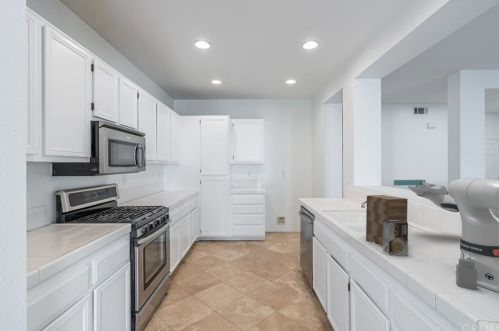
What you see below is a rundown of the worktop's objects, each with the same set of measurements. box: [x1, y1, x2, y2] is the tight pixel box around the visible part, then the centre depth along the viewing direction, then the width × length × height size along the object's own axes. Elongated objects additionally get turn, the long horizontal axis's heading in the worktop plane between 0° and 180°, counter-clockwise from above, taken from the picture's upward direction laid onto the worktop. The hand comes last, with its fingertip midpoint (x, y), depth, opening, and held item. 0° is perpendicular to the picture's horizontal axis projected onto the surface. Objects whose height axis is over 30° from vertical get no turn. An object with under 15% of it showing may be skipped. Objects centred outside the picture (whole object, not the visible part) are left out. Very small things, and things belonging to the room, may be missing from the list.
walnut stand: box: [365, 194, 409, 247], centre depth 136 cm, size 16×12×26 cm
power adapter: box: [455, 253, 478, 291], centre depth 89 cm, size 3×5×12 cm, turn 62°
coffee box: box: [382, 220, 409, 257], centre depth 122 cm, size 9×6×16 cm
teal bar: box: [393, 179, 427, 187], centre depth 142 cm, size 3×21×3 cm, turn 108°
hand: (418, 181), depth 144 cm, fingers closed on teal bar, 3 cm apart
